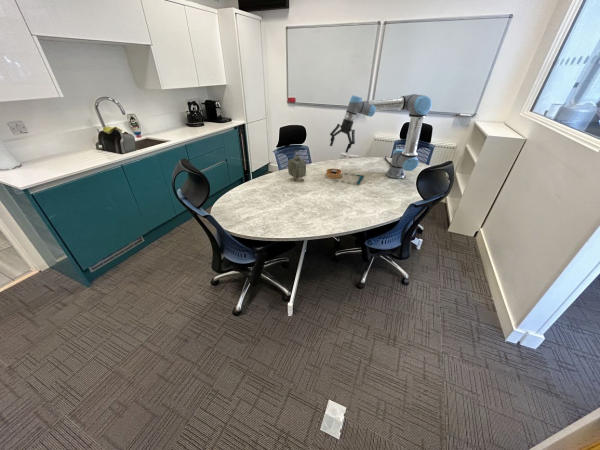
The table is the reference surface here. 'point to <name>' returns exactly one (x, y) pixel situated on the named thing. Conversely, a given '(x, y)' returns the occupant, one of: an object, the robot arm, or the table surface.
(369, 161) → the table surface
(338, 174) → the bowl
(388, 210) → the table surface
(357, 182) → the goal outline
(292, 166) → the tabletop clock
